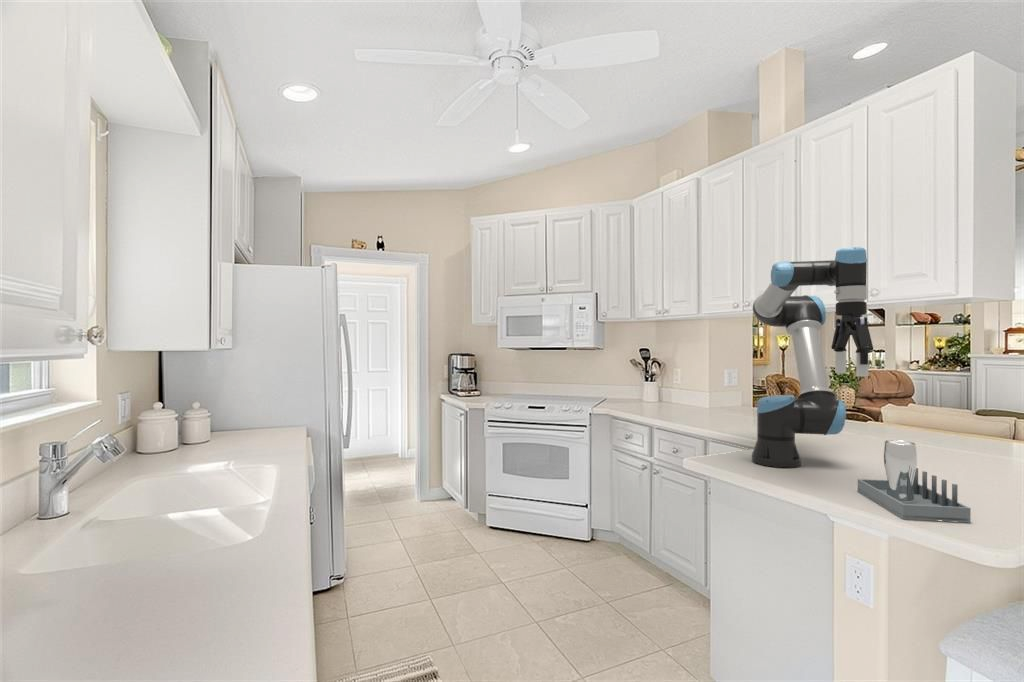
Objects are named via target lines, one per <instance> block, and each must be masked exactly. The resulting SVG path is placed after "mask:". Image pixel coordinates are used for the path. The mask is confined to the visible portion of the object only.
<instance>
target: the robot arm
mask: <svg viewBox="0 0 1024 682" xmlns="http://www.w3.org/2000/svg"><path fill="white" fill-rule="evenodd" d="M834 257H835V258H834V259H833V260H807V261H806V260H805V261H783V262H775V263H774V264H773V265H772V266H771V270H770V284H769V285H768V286H767V288H766V289H765V291H764V292H763V293H761V294H759V295H758V296H756V299H754V302H753V305H752V312H753V315H754V316H755V318H756V319H757V320H758V321H759V322H761V323H762V324H764V325H767V326H770V327H782V328H784V327H785V330H786V333H787V334H789V335H790V336H791V338H792V343H793V350H794V351H793V352H794V356H795V362H796V368H797V373H798V380H799V385H800V393H799V394H798V395H797V398H796V397H795V396H794V395H791V394H776V395H768V396H767V395H766V396H763V397H761V398H759V399H758V400H757V404H756V405H757V409H756V413H757V415H756V418H757V420H756V421H757V423H756V425H757V426H756V427H757V429H756V430H757V434H756V435H757V438H756V442H755V445H754V448H753V451H752V454H751V461H752V462H753V463H754V462H755V463H754V464H757V463H758V464H757V465H760V464H761V465H762V466H764V465H766V466H765V467H770V466H774V467H773V468H780V467H787V468H786V469H789V467H790V468H793V467H794V468H798V467H801V466H802V465H801V464H802V461H801V460H802V458H801V456H800V453H799V450H798V447H797V445H796V437H795V436H796V434H801V435H802V434H803V435H823V436H829V435H838V434H840V433H841V432H842V431H843V428H844V426H845V423H846V417H847V406H846V404H845V403H844V401H843V400H840V399H837V396H836V393H835V392H834V391H832V390H831V389H830V387H829V381H828V378H827V377H828V376H827V372H826V366H825V361H824V356H823V351H822V346H821V340H820V336H819V335H820V333H819V332H820V330H821V329H822V326H824V325H825V323H826V319H827V316H826V313H827V311H826V308H825V307H826V306H825V304H824V302H823V300H822V299H821V298H820V297H819V296H816V295H793V294H794V292H795V291H796V290H797V288H799V286H829V287H834V286H835V290H834V294H835V301H836V303H835V315H836V316H841V318H836V320H835V328H834V334H833V338H832V343H831V349H832V350H833V351H834V352H835V353H834V355H835V356H834V360H835V361H834V368H835V369H834V371H835V372H834V373H835V374H847V348H846V347H847V344H848V342H849V339H850V336H851V337H852V339H853V342H854V345H855V346H856V347H855V348H856V350H855V353H856V356H855V358H856V359H855V361H856V363H855V364H856V366H855V367H856V369H855V370H856V372H855V375H856V377H862V378H863V377H864V378H865V377H869V354H870V352H871V351H873V350H874V346H873V341H872V337H871V333H870V329H869V324H868V317H866V316H865V317H864V315H867V313H868V312H867V310H868V308H867V305H868V304H867V302H866V300H867V299H868V295H867V294H868V286H867V273H868V272H867V270H868V269H867V266H868V264H867V263H868V259H867V258H868V257H867V250H866V249H865V247H862V246H861V247H860V246H852V247H844V248H840V249H837V250H836V253H835V256H834ZM861 316H862V317H861ZM761 465H760V466H761Z"/></svg>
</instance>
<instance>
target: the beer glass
mask: <svg viewBox="0 0 1024 682" xmlns="http://www.w3.org/2000/svg"><path fill="white" fill-rule="evenodd" d="M917 453H918V452H917V444H916V443H915V442H912V441H908V440H907V441H906V440H898V439H886V440H884V446H883V464H884V466H883V467H884V471H885V475H886V480H887V482H888V487H887V492H886V494H887V495H889V496H891V497H893V498H895V499H896V500H898V501H900V502H902V503H913V502H915V499H914V494H913V481H914V477H915V472H916V468H917V467H918V466H917V465H918V457H917Z"/></svg>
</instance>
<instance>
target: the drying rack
mask: <svg viewBox="0 0 1024 682" xmlns="http://www.w3.org/2000/svg"><path fill="white" fill-rule="evenodd" d="M921 475H922V477H921V478H922V479H921V480H922V481H921V482H922V484H920V483H919V468H918V467H916V472H915V477H914V481H913V494H914V499H915V502H913V503H902V502H900V501H898V500H896V499H895V498H893V497H891V496H889V495H887V494H886V492H887V487H888V482H887V479H886V480H885V479H884V480H883V479H868V478H867V479H865V478H858V479H857V492H858V493H859V494H861V495H863V496H864V497H866V498H868V499H869V500H871V501H873V502H874V503H876V504H877V505H879V506H880V507H882V508H884V509H885V510H888V511H889V512H890V513H892V514H894V515H895V516H897V517H898V518H900V519H902V520H904V521H905V520H908V521H922V520H942V521H959V522H970V523H971V507H969V506H967V505H965V504H962V503H960V502H958V500H959V499H958V495H959V494H958V493H959V491H958V488H959V487H958V484H956V483H951V498H950V497H948V492H947V491H948V487H947V484H948V480H947V479H941V493H939V492H937V490H938V489H937V487H938V485H937V479H938V478H937V477H938V476H937V475H933V474H932V475H931V488H928V471H923V470H922V473H921ZM959 522H958V523H959Z"/></svg>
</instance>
